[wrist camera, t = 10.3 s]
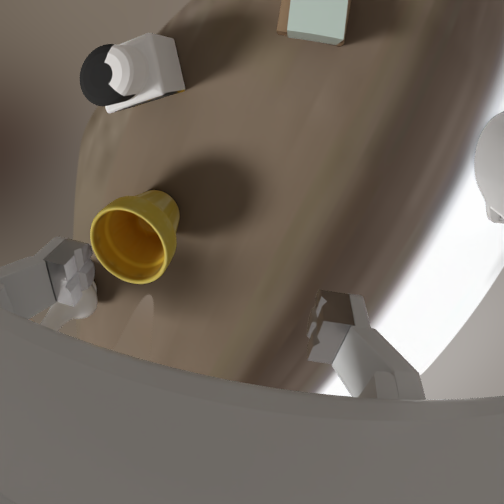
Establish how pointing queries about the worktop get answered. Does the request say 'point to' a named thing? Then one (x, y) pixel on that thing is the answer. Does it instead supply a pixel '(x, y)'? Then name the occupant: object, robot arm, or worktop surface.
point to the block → (285, 15)
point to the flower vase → (72, 309)
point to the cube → (317, 20)
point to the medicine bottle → (132, 72)
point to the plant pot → (136, 236)
